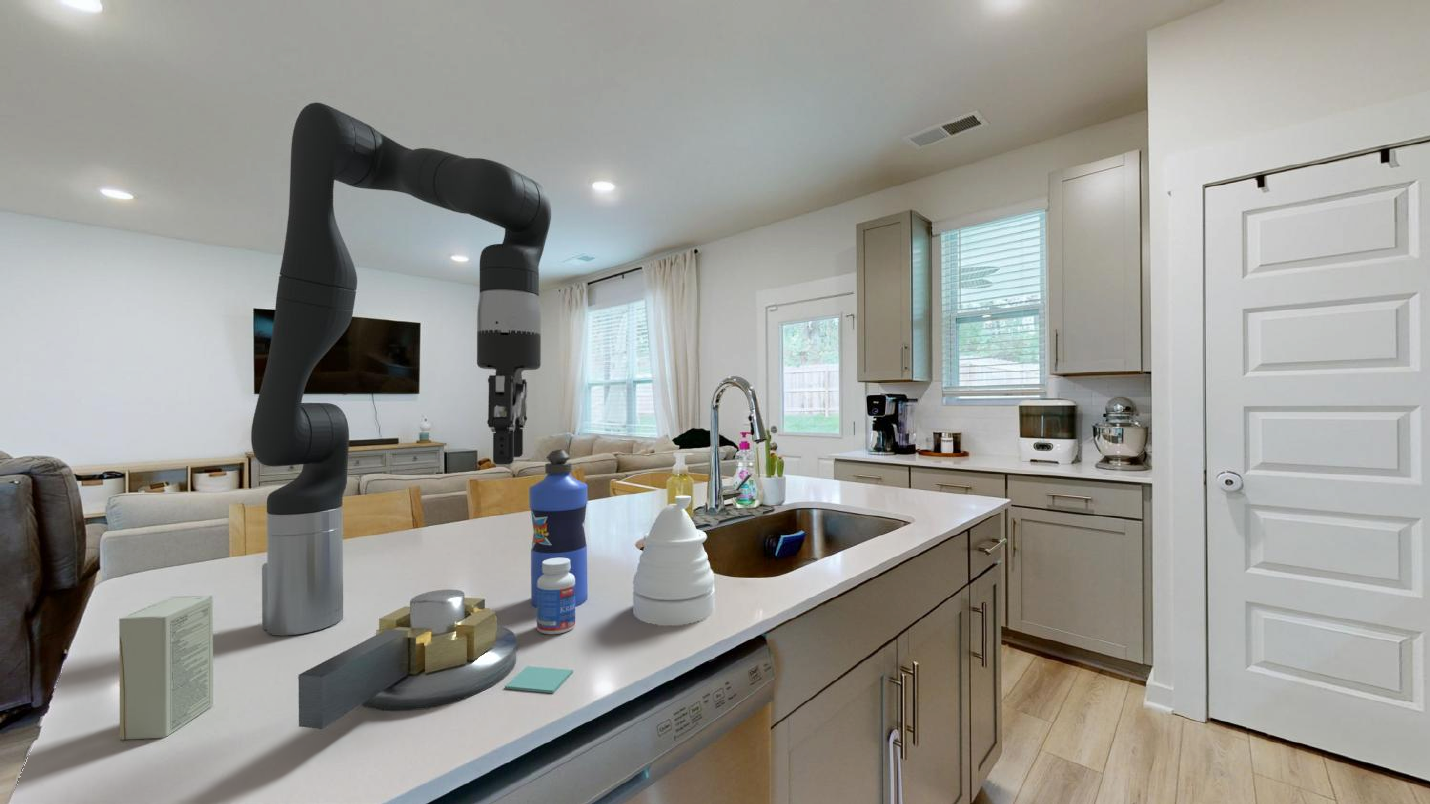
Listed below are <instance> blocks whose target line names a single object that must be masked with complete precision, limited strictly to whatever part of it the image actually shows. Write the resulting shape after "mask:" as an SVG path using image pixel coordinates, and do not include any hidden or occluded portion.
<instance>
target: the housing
mask: <svg viewBox="0 0 1430 804" xmlns="http://www.w3.org/2000/svg"><path fill="white" fill-rule="evenodd" d="M465 598H466V597H465V592H464V591H462V590H459V589H439V590H432V591H428V592H423V593H420V594H418V595H415V596H414V597H412V598H411V599H410V601H409V607H410V628H419V629H431V637H433V636H438V635H443V634H448V633H452V632H456V624H457V623H459V622H460V621H462V620H464V619H465ZM516 664H517V637H516V634H515V633H514V632H513V631H512V630H511V629H509V628H507V627H505V626H503V625H499V624H497V642H496V645H494V646H493V647H492V648H490V649H489V650H487V651H486V652H485V653H483V654H482V655H481V656H479V657H478V658H476V659H475V660H468V659H467V663H465V664H461V665H457V666H453V667H449V668H445V669H441V670H437V671H433V672H428V673H425V671H424V669H423V670H422V671H420V672H419V673H417V674H409V673H408V675H406V676H405V677H403V678H402V679H400V680H399V681H397V682H396V683H394V684H392V685H391V686H389V687H388V688H386V689H385V690H383V691H382V692H380V693H378V694H377V695H375V696H374V697H372V698H371V699H369V700H368V701H366V702H365V703H363V704H361V705H360V706H362V707H365V708H368V709H372V710H378V711H389V712H391V711H392V712H397V711H399V712H400V711H401V712H402V711H414V710H415V711H416V710H423V709H429V708H434V707H439V706H443V705H446V704H447V705H448V704H451V703H454V702H458V701H460V700H463V699H467V698H469V697H472V696H475V695H478V694H479V693H481V692H483V691H486V690H487V689H490V688H491V687H494V686H495V685H497V684H498V683H499V682H500V681H502V680H504V679H505V678H506V677H507V676H508V675H509V674H510V673H511V672H512V670H514V668H515V666H516Z"/></svg>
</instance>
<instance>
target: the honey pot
mask: <svg viewBox="0 0 1430 804" xmlns="http://www.w3.org/2000/svg"><path fill="white" fill-rule="evenodd" d="M674 500H675V501H674V502H675V503H668V505H666V506H665V507H664V508H663V509H662V510H661V511H660V512H659V514H658V515H657V517H656V518H655V520H654V522H653V523H652V526H651V529H650V530H649V531H648V532H647V533H646V534H644V535H643V541H644V543H645V544H644V547H643V549H642V553H641V554H640V555H639V562H638V564H637V568H636V572H635V573H634V576H633V581H632V584H633V587H632V589H633V592H632V609H633V611H632V614H633V613H634V614H633V615H634V617H635V618H636V617H637V618H636V619H637V620H639V619H640V620H639V621H641V620H642V621H641V622H643V621H644V622H643V623H646V622H647V623H646V624H650V623H652V624H651V625H655V624H657V626H667V625H672V626H684V624H685V625H690V624H689V623H691V624H695V623H698V622H697V621H699V622H701V620H702V621H703V619H704V620H706V619H708V618H707V617H709V616H710V615H711V614H712V615H714V613H715V611H716V592H715V591H716V590H715V575H714V571H713V570H712V569H711V564H710V561H709V560H708V559H709V557H708V556H709V555H708V554H707V552H706V550H705V548H704V544H703V543H705V541H706V540H707V539H708V535H707V534H706V532H704V531H703V530H701V529H697V528H696V526H695V525H696V524H695V523H694V521H693V520H692V518H691V516H690V515H689V513H688V512H687V511H686V509H688V507H689V506H690V504H691V503H692V502H691V501H692V496H691V495H685V494H684V495H683V494H682V495H676V496H674ZM712 615H711V616H712ZM711 616H710V617H711ZM710 617H709V618H710ZM705 618H706V619H705ZM694 622H695V623H694Z"/></svg>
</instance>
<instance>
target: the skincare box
mask: <svg viewBox="0 0 1430 804" xmlns="http://www.w3.org/2000/svg"><path fill="white" fill-rule="evenodd" d="M213 599H214V598H213V595H199V596H197V595H191V596H171V597H168V598H165V599H163V600H160V601H158V602H156V603H154V604H151V605H147V606H146V607H144V608H141V609H138V610H136V611H133V612H131V613H129V614H127V615H124V616H121V617H119V619H118V622H119V626H118V627H119V628H118V630H119V647H118V649H119V650H118V651H119V659H118V660H119V740H122V741H123V740H143V739H164V738H166V736H167V737H168V736H170V735H171V734H172V733H174V732H176V731H177V730H179V729H180V728H182V727H184V726H185V725H186V724H188V723H189V722H190V721H192V720H193V719H195V718H196V717H198V716H199V715H201V714H203V713H204V712H205V711H206V710H208V709H209V708H211V707H213V705H214V637H213V636H214V633H213V632H214V630H213V629H214V628H213V627H214V621H213V620H214V618H213V615H214V613H213V611H214V610H213V609H214V608H213V607H214V606H213V605H214V603H213V602H214V601H213Z"/></svg>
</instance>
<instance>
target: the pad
mask: <svg viewBox="0 0 1430 804" xmlns="http://www.w3.org/2000/svg"><path fill="white" fill-rule="evenodd" d="M573 673H574V670H573V669H567V668H565V669H564V668H554V667H553V668H552V667H542V666H530V665H527V666H526V667H524V669H522V670H521V671H520V672H519V673H518V674H517V675H516V676H514V677H513V678H511V680H510V681H509V682H507V683H506V685H504V690H505V689H506V690H514V691H515V690H516V691H527V692H537V693H546V694H547V693H548V694H554V693H555V692H556V691H557V690H558V689H559V688H560V687H561V686H562V685H563V684H564V682H566V680H567V679H568V678H569V677H570V676H571V675H572V674H573Z"/></svg>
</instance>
